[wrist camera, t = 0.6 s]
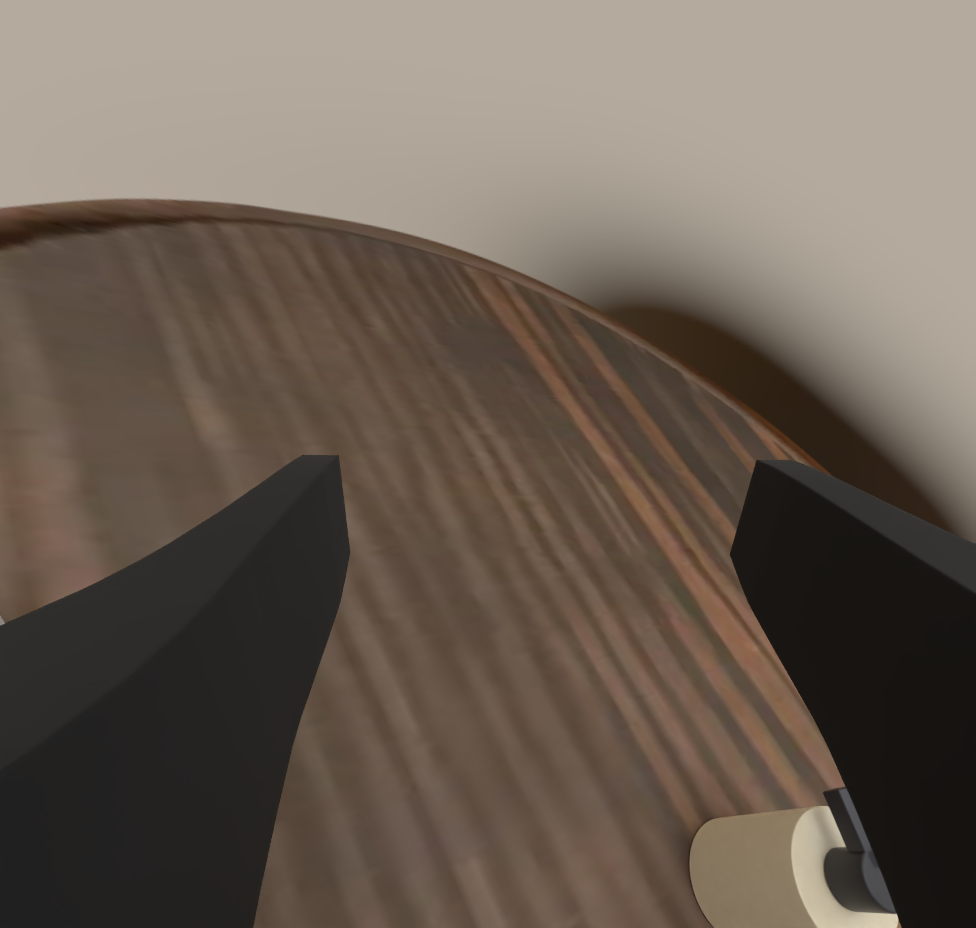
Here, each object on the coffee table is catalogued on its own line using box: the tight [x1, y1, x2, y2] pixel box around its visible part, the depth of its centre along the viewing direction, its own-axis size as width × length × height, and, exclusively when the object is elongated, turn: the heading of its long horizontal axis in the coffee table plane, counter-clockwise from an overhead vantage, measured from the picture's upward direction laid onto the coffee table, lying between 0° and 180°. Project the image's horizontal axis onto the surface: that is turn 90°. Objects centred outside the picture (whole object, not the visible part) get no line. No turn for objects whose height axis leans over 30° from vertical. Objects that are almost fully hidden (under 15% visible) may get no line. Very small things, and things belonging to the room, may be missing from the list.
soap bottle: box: [689, 787, 898, 928], centre depth 24 cm, size 5×5×8 cm
